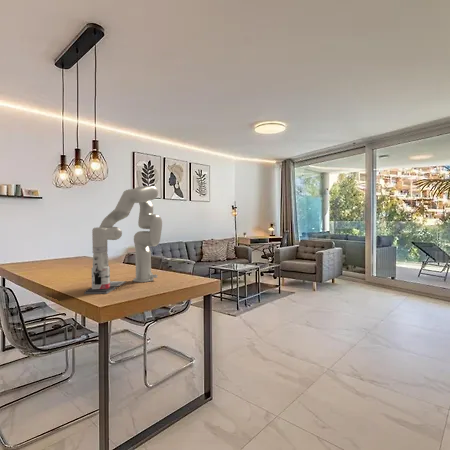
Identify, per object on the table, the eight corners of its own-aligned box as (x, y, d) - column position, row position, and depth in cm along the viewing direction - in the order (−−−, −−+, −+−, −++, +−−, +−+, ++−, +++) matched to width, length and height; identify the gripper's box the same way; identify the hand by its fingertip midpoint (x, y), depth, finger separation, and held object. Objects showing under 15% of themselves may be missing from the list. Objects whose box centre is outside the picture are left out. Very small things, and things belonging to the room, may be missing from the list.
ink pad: (115, 288, 170) (115, 285, 170) (106, 293, 158) (106, 290, 158) (94, 288, 170) (94, 285, 170) (84, 293, 158) (84, 290, 158)
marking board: (126, 281, 188) (126, 281, 188) (118, 286, 175) (118, 285, 175) (102, 281, 189) (102, 281, 189) (93, 286, 176) (93, 285, 176)
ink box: (110, 287, 167) (110, 265, 167) (107, 289, 162) (107, 267, 162) (94, 287, 166) (94, 266, 166) (91, 289, 161) (91, 267, 161)
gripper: (100, 251, 155) (100, 286, 155) (113, 248, 172) (113, 280, 172) (85, 251, 155) (86, 286, 155) (100, 248, 172) (100, 280, 173)
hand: (100, 282), depth 164 cm, fingers closed on ink box, 5 cm apart
